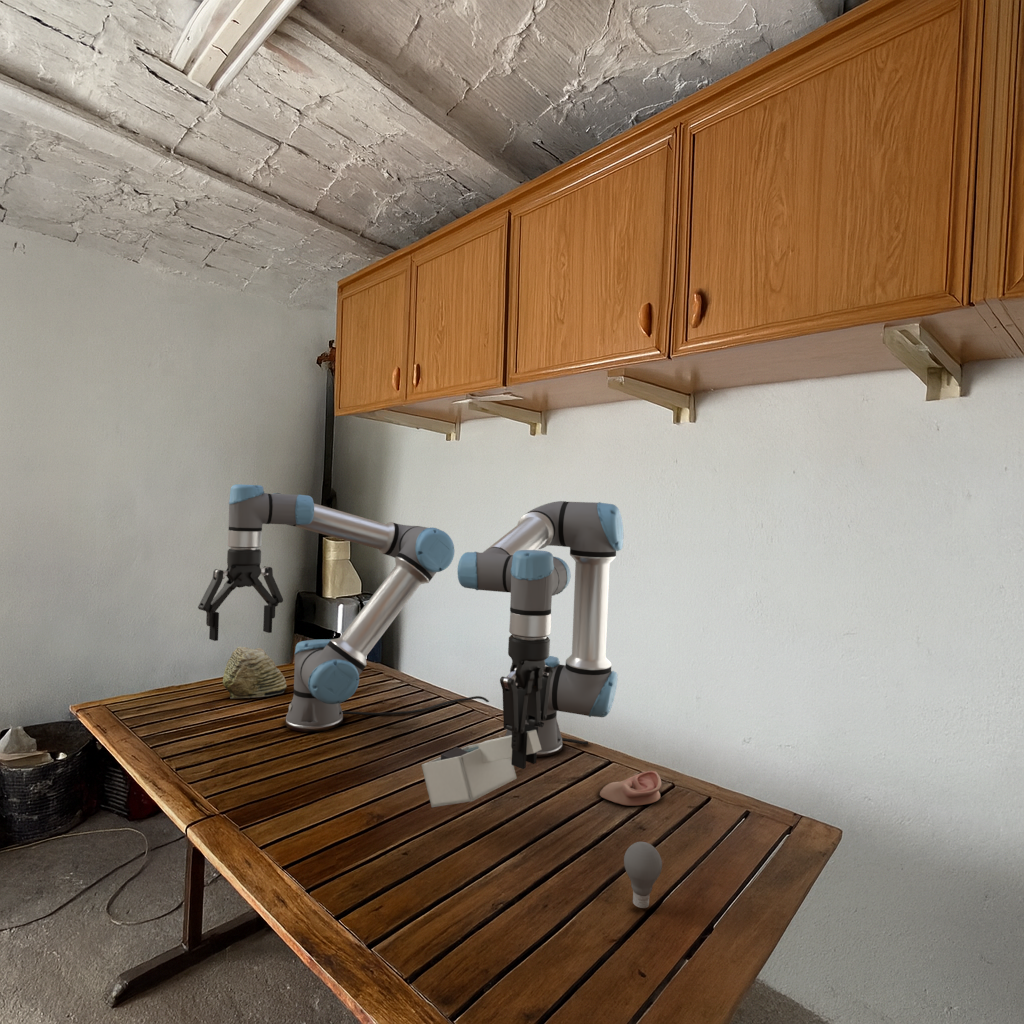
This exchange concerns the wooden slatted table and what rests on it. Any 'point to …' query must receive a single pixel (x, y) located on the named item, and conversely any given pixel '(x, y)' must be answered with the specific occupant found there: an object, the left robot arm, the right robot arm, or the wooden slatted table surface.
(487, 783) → the handled box
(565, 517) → the right robot arm
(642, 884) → the light bulb
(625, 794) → the anatomical model
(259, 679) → the fossil
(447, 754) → the charcoal block
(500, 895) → the wooden slatted table surface
